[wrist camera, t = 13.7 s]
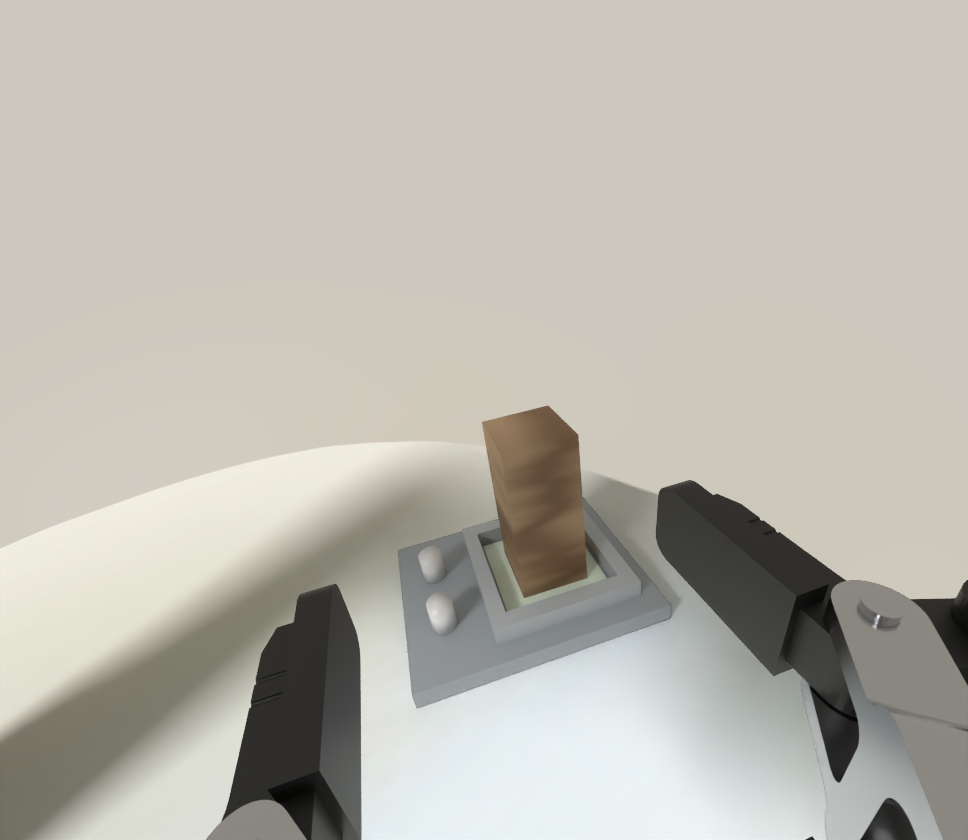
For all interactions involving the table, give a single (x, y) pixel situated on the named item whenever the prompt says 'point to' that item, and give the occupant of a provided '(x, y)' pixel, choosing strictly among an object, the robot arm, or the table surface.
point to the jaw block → (538, 498)
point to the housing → (511, 608)
